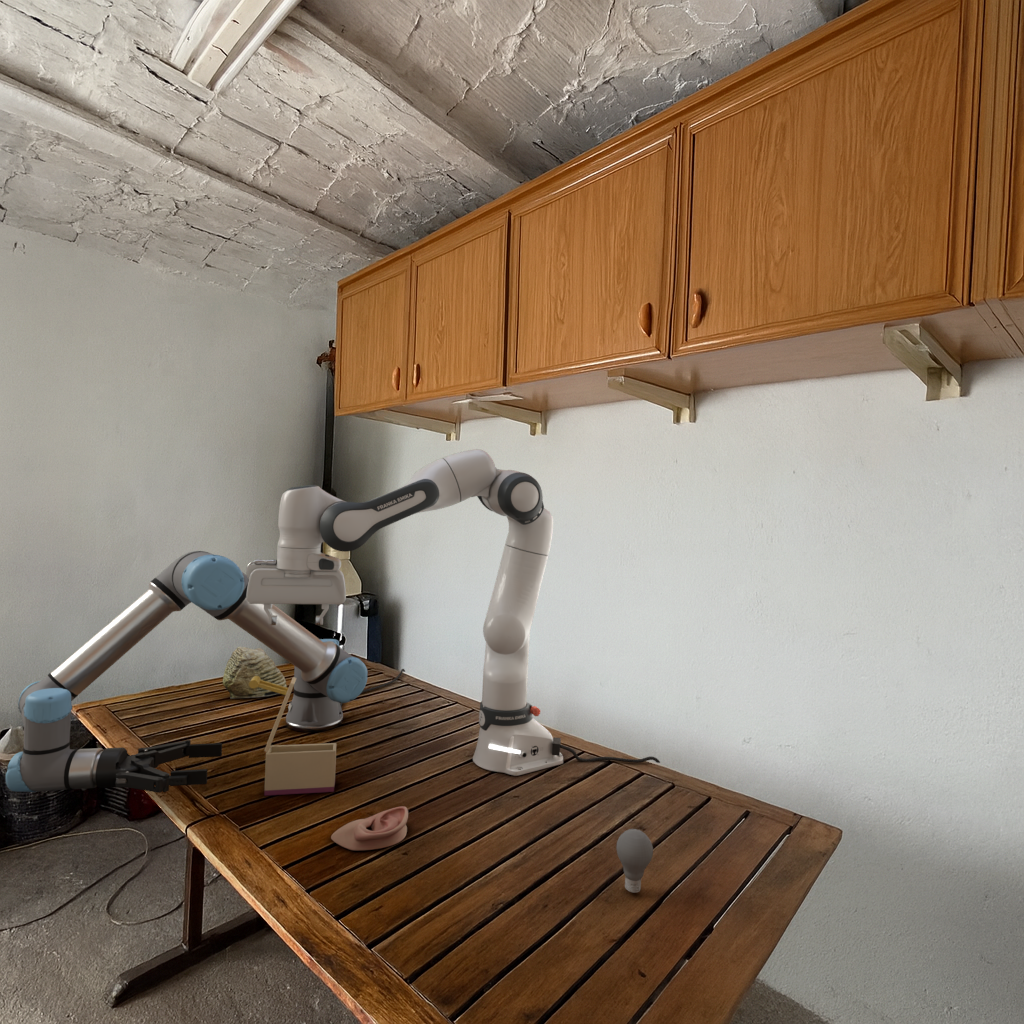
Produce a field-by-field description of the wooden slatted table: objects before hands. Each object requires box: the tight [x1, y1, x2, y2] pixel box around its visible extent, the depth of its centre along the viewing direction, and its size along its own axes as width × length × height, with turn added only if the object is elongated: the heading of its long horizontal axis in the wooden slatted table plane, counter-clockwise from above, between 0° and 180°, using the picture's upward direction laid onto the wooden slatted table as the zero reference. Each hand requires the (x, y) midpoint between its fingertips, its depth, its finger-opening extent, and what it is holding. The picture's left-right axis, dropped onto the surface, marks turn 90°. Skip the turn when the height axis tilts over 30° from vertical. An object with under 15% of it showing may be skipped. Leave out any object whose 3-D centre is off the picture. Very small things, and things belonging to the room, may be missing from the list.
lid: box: [249, 676, 296, 753], centre depth 135 cm, size 15×4×9 cm
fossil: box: [222, 646, 288, 699], centre depth 198 cm, size 9×18×15 cm, turn 132°
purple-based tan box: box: [263, 742, 337, 797], centre depth 137 cm, size 14×5×9 cm, turn 103°
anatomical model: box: [330, 805, 409, 852], centre depth 119 cm, size 13×4×12 cm
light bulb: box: [615, 828, 654, 894], centre depth 106 cm, size 6×6×10 cm
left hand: (214, 762), depth 133 cm, fingers open, 13 cm apart
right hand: (296, 624), depth 136 cm, fingers open, 8 cm apart
